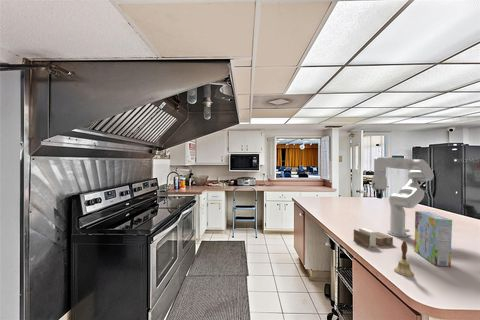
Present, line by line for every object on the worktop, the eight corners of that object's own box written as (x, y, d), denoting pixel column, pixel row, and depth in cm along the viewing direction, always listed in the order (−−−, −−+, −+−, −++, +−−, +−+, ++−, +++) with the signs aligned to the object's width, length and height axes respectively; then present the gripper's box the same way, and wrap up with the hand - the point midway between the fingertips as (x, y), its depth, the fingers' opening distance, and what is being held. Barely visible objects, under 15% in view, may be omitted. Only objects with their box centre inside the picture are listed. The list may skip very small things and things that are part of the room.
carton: (364, 227, 165) (359, 228, 164) (375, 232, 155) (370, 232, 154) (364, 240, 165) (358, 240, 164) (375, 245, 155) (370, 246, 154)
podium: (377, 238, 170) (377, 227, 170) (393, 245, 158) (393, 233, 158) (353, 240, 165) (353, 229, 165) (367, 247, 152) (368, 235, 152)
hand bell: (418, 276, 115) (418, 244, 115) (402, 276, 115) (402, 244, 114) (404, 268, 123) (405, 238, 123) (390, 268, 123) (390, 238, 123)
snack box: (452, 267, 125) (453, 219, 125) (434, 266, 127) (435, 218, 127) (428, 252, 146) (429, 211, 146) (413, 250, 148) (413, 210, 148)
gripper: (383, 173, 179) (383, 197, 179) (367, 173, 175) (367, 197, 175) (392, 174, 172) (391, 198, 172) (375, 174, 168) (375, 199, 168)
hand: (379, 198), depth 173 cm, fingers closed
